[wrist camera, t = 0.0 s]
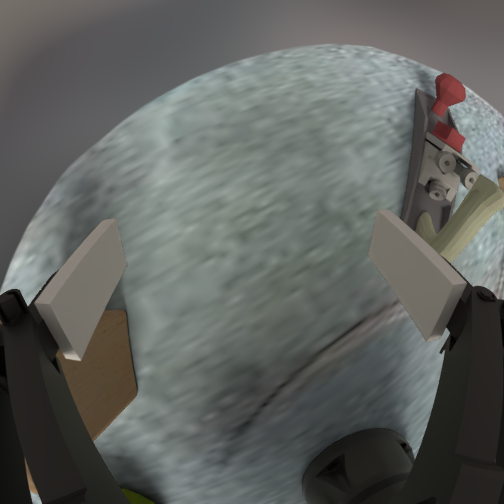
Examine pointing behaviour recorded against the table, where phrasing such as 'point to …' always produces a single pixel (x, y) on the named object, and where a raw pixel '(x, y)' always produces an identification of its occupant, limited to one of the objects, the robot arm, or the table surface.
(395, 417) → the table surface
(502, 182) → the oak plank
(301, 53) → the table surface
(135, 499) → the apple
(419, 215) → the hand plane
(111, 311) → the wooden block
